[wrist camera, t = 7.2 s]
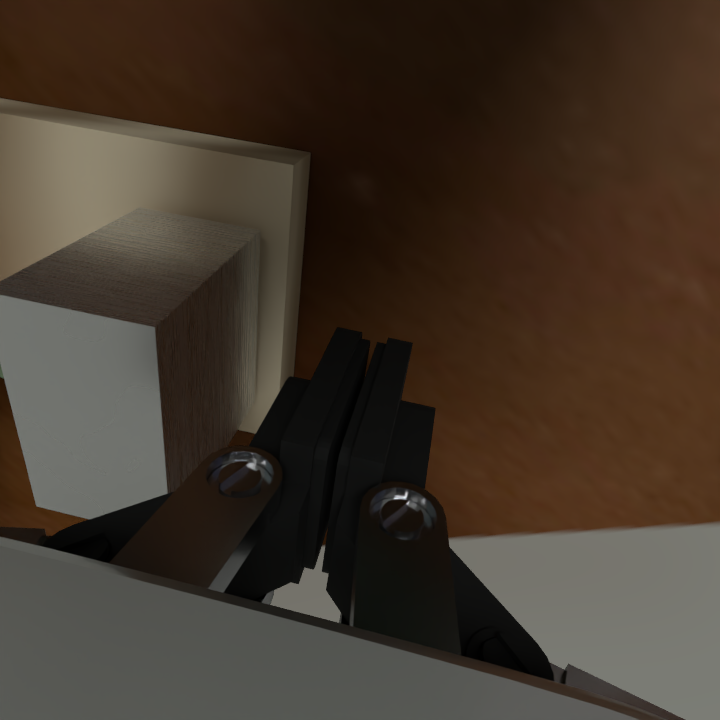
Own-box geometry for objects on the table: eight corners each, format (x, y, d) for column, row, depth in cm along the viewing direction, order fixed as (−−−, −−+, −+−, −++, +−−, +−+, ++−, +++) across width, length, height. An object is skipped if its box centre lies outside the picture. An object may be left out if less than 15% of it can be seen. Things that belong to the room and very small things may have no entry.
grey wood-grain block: (260, 230, 13) (155, 327, 9) (254, 401, 16) (170, 539, 12) (139, 207, 13) (-19, 290, 9) (153, 379, 16) (36, 506, 12)
